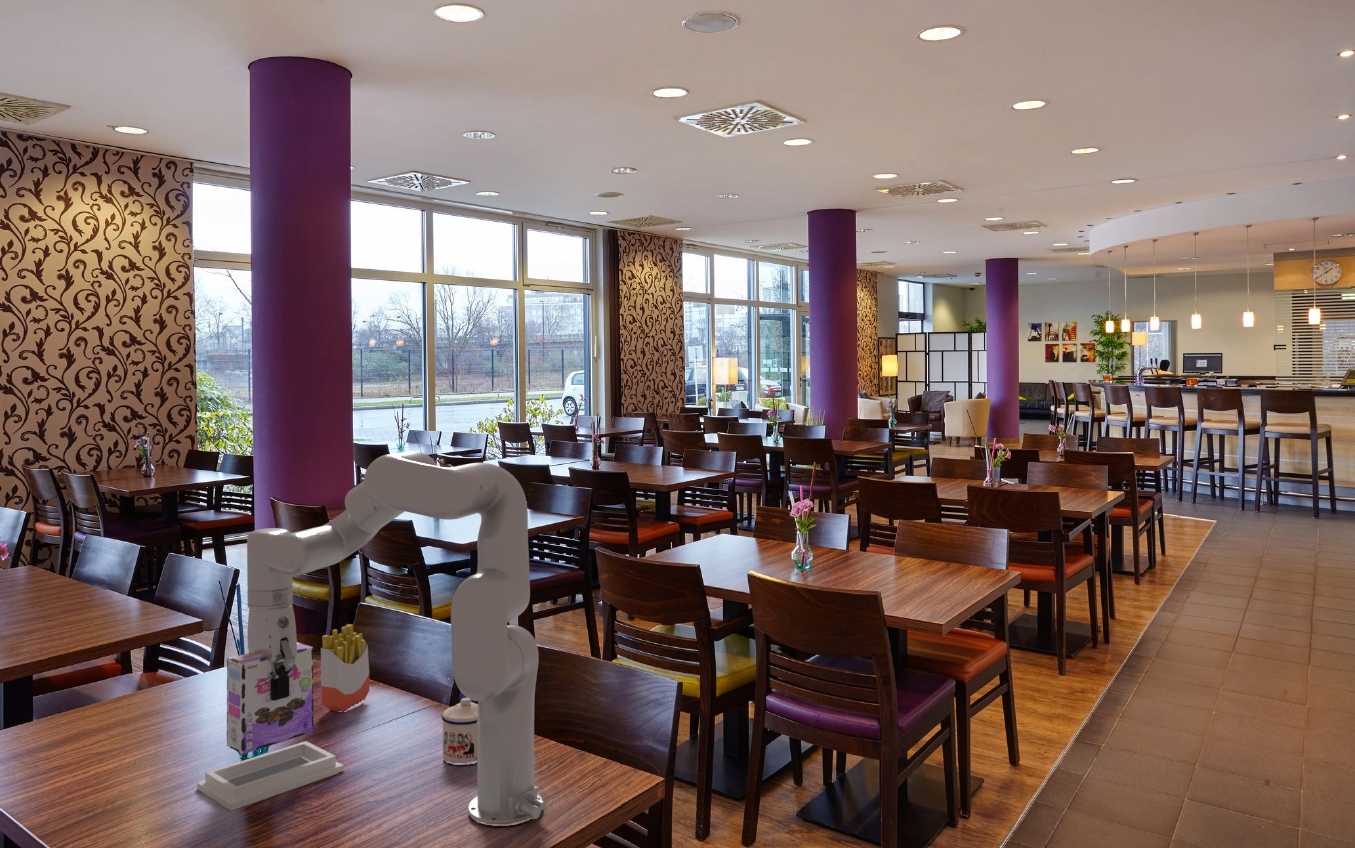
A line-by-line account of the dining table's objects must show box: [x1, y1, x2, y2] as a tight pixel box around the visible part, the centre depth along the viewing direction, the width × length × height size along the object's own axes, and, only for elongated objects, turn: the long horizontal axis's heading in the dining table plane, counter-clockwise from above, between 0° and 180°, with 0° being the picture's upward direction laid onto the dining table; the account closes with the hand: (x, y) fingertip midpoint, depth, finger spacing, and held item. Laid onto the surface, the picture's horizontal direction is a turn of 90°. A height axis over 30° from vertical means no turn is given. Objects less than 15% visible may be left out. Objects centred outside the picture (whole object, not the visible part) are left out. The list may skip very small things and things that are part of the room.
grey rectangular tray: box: [196, 740, 345, 812], centre depth 167 cm, size 13×21×3 cm, turn 140°
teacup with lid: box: [441, 697, 478, 763], centre depth 177 cm, size 12×9×12 cm
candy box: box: [226, 641, 315, 755], centre depth 166 cm, size 14×6×16 cm, turn 143°
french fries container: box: [320, 623, 370, 712], centre depth 204 cm, size 5×11×18 cm, turn 160°
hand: (270, 693), depth 166 cm, fingers closed on candy box, 6 cm apart
